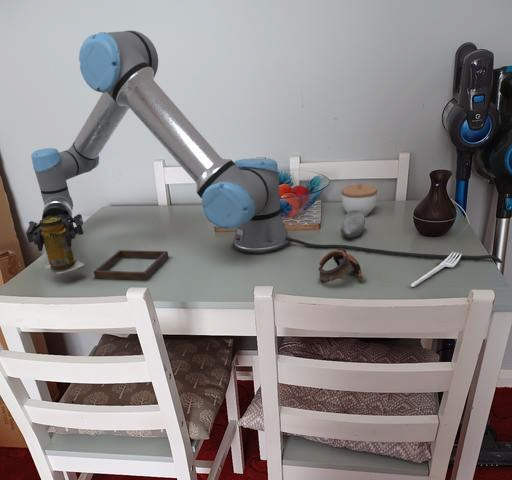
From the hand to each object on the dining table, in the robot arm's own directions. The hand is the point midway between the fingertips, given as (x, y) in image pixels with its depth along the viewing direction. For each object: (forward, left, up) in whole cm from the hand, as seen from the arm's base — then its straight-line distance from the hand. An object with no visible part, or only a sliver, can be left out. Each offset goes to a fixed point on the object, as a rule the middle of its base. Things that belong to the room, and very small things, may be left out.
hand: (53, 243), depth 125 cm
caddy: (-9, -15, -12) cm, 22 cm away
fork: (-85, -31, -12) cm, 91 cm away
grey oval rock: (-59, -51, -12) cm, 79 cm away
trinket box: (-56, -69, -12) cm, 90 cm away
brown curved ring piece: (-64, -22, -12) cm, 69 cm away
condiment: (+3, -4, -8) cm, 10 cm away
